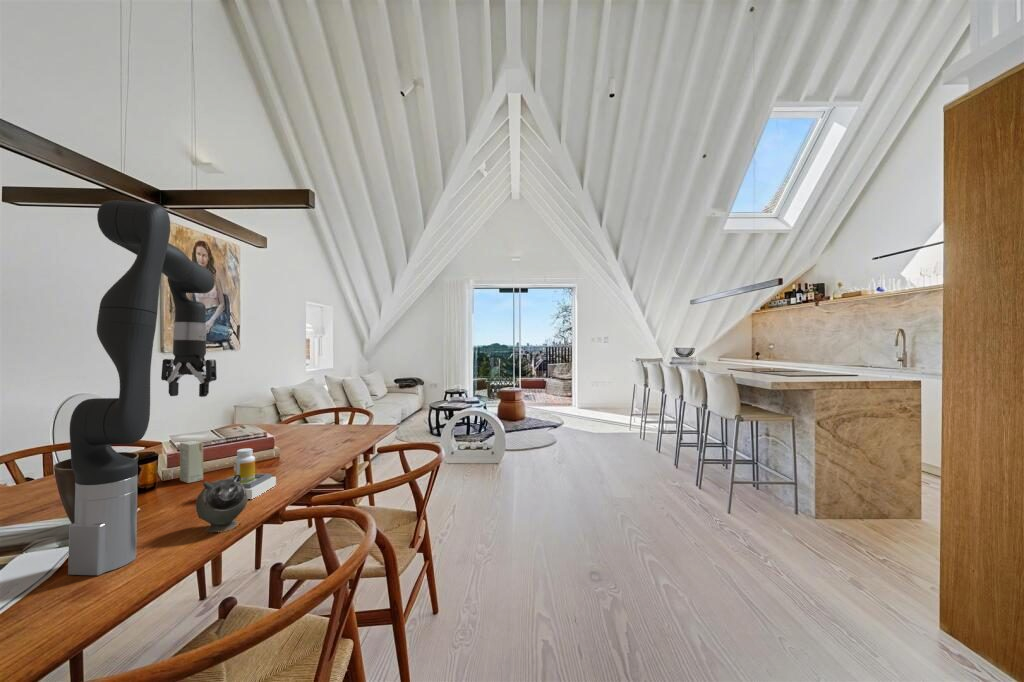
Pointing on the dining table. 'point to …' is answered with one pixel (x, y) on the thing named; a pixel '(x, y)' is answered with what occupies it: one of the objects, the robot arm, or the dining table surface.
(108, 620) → the dining table surface
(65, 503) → the plant pot
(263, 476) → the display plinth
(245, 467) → the supplement bottle
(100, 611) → the dining table surface
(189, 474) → the skincare box
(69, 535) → the robot arm
